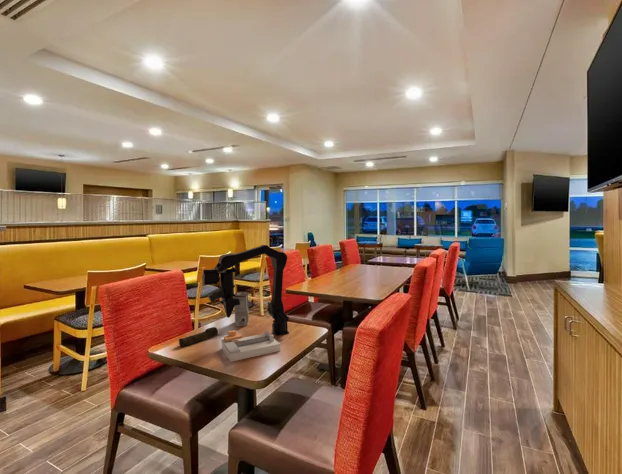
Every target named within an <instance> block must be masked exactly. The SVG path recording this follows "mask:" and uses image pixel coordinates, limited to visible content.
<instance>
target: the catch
mask: <svg viewBox="0 0 622 474" xmlns="http://www.w3.org/2000/svg"><path fill="white" fill-rule="evenodd" d="M241 338H243V335H242V334H241V333H240V332H239V333H237V331H236V330H234V329H233V330H228V331H227V335H224V336H223V339H224V340H225V341H231V340H236V339H241Z"/></svg>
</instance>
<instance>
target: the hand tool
mask: <svg viewBox="0 0 622 474" xmlns="http://www.w3.org/2000/svg"><path fill="white" fill-rule="evenodd" d="M217 336H219V331H218V328H217V327H215V326H213V327H208V328H206V329H205V331H202V332H198V333H195V334H193V335H189V336H185V337H183V338H178V344H179V347H181V348H184V347H187V346H188V345H191V344H194V343H196V342H200V341H203V340H205V339H206V340H207V339H208V340H209V339H212V338H213V339H214V337H217Z"/></svg>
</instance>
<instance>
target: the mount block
mask: <svg viewBox="0 0 622 474" xmlns="http://www.w3.org/2000/svg"><path fill="white" fill-rule="evenodd" d="M264 336H269V341H264V342H259V343H254V344H249V345H244V346H239V347H237V345H236V344H235V342H238V341H243V340H249V339H254V338H259V337H264ZM274 337H275V334H274V333H272V334H270V331H269V330H264V333H260V334H255V335H250V336H245V337H242V338H241V339H236V340H231V341H225V340H224V338H223V339H221V343H220V344H221V350H222V351H223V353H224V355H225V356H226V357H227V358H228V360H229V361H230V362H236V361H240V360H246V359H248V358H254V357H258V356H264V355H266V354H271V353H272V354H273V353H275V352H280V351H281V343H280V342H279V341H278V340H277V339H276V338H274Z"/></svg>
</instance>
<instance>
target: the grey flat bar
mask: <svg viewBox="0 0 622 474" xmlns="http://www.w3.org/2000/svg"><path fill="white" fill-rule="evenodd" d="M264 341H269V336H264V337H259V338H254V339H249V340H243V341H238V342H235V344H236V345H237V347H239V346H244V345H249V344H254V343H259V342H264Z"/></svg>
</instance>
